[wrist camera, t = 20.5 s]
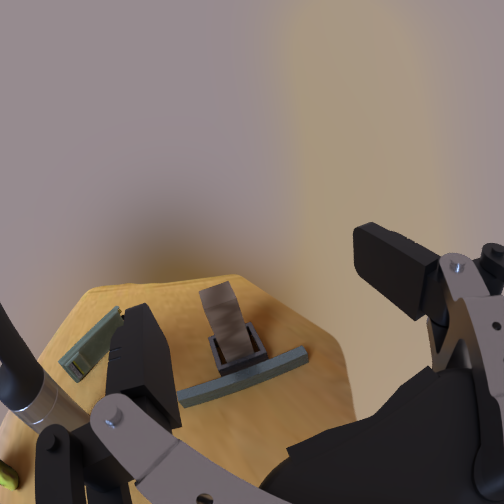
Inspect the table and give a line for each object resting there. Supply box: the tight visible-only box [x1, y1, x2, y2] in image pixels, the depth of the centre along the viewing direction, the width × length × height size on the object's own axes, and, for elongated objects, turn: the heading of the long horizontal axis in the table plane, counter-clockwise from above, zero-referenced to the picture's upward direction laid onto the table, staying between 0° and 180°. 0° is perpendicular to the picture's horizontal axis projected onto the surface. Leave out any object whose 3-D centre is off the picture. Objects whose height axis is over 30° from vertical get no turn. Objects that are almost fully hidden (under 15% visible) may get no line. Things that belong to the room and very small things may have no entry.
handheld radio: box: [58, 306, 124, 383], centre depth 53 cm, size 7×3×25 cm
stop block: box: [199, 281, 254, 363], centre depth 44 cm, size 5×5×14 cm
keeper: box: [177, 322, 309, 408], centre depth 45 cm, size 22×12×2 cm, turn 108°
